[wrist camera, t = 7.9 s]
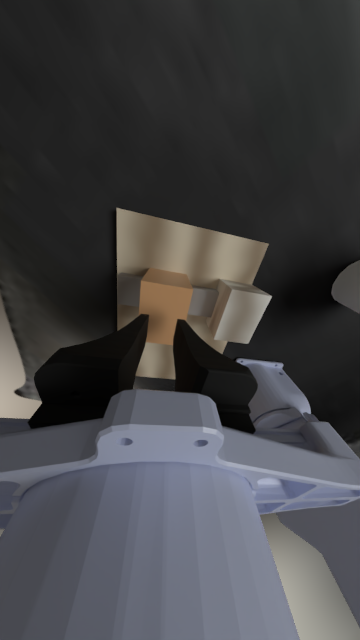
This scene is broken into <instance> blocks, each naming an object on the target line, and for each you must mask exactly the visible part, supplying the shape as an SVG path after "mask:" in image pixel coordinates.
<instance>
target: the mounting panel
mask: <svg viewBox="0 0 360 640" xmlns="http://www.w3.org/2000/svg"><path fill="white" fill-rule="evenodd" d="M268 245H269V244H267V243H263V242H259V241H254V240H250V239H246V238H242V237H237V236H233V235H229V234H225V233H220V232H216V231H212V230H208V229H204V228H199V227H195V226H191V225H187V224H182V223H178V222H174V221H170V220H165V219H161V218H157V217H153V216H149V215H144V214H140V213H136V212H132V211H127V210H123V209H119V208H117V323H118V330H120V329H121V328H123V327H124V326H126V325H127V324H129V323H130V322H131V321H133V320H134V319H135V318H137V317H138V316H139V304H140V287H141V280H142V278H143V277H144V275H145V274H146V273H147V271H148V270H149V268H154V269H160V270H165V271H171V272H176V273H182V274H187V277H188V279H189V281H190V283H191V285H192V288H193V293H192V297H191V302H190V306H189V310H188V315H187V319H186V322H187V323H188V324H189V326H190V327H191V328H192V329H193V330H194V331H195V333H196V334H197V335H198V336H199V337H200V338H201V339H202V340H203V341H205V342H206V343H207V344H208V345H209V346H211V347H212V348H213V349H215V350H216V351H218V352H219V353H221V354H222V353H223V351H224V348H225V346H226V344H227V341H230V342H238V343H246V344H248V343H249V341H250V339H251V337H252V335H253V333H254V331H255V329H256V327H257V325H258V323H259V321H260V319H261V317H262V315H263V313H264V311H265V309H266V307H267V305H268V304H269V302H270V300H271V298H272V296H271V295H269V294H267V293H265V292H264V291H262V290H260V289H258V288H257V287H255V286H253V285H252V282H253V280H254V278H255V275H256V273H257V271H258V268H259V266H260V263H261V261H262V259H263V256H264V254H265V252H266V249H267V247H268ZM136 376H142V377H154V378H166V379H175V366H174V356H173V345H166V344H157V343H148V342H146V343H145V348H144V351H143V354H142V356H141V359H140V362H139V365H138V368H137V372H136Z"/></svg>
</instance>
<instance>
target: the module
mask: <svg viewBox="0 0 360 640" xmlns="http://www.w3.org/2000/svg"><path fill="white" fill-rule="evenodd" d="M192 293H193V288H192V285H191V283H190V281H189V279H188V277H187V274H182V273H176V272H171V271H165V270H160V269H154V268H149V270H148V271H147V273H146V274H145V275H144V277H143V278H142V280H141V287H140V304H139V315H140V314H148V315H149V322H148V331H147V338H146V342H148V343H157V344H166V345H173V338H174V333H175V328H176V323H177V319H183V320H185V321H186V319H187V315H188V310H189V306H190V302H191V297H192Z"/></svg>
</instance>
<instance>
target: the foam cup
mask: <svg viewBox="0 0 360 640" xmlns="http://www.w3.org/2000/svg"><path fill="white" fill-rule="evenodd" d="M331 294H332V296H333V298H334V300H336V301H338V302H339V303H341V304H343V305H344V306H346V307H348V308H350V309H352V310H354V311H355V312H357V313H359V314H360V260H359V261H357V262H355V263H353V264H351V265H349V266H348V267H347V268H346V269H344V270H343V271H342V272H341V273H340V274H339V275H338V277H337V279H336V280H335V282H334V283H333V286H332V292H331Z"/></svg>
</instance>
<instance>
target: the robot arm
mask: <svg viewBox="0 0 360 640" xmlns="http://www.w3.org/2000/svg"><path fill="white" fill-rule="evenodd" d="M148 322H149V315H148V314H140V315H139V316H138V317H137V318H135V319H134V320H133V321H131V322H130V323H129V324H127V325H126V326H124V327H123V328H121V329H120V330H118V331H116V332H114V333H112V334H109V335H107V336H104V337H102V338H99V339H97V340H93V341H90V342H87V343H83V344H79V345H74V346H69V347H65V348H60V349H59V350H58V351H57V352H56V353H54V354H53V355H52V356H51V357H50V358H49V359H48V360H47V361H46V362H45V363H44V364H43V365H42V367H41V368H40V369H39V370H38V371H37V372H36V373H35V376H34V381H35V385H36V388H37V390H38V393H39V395H40V398H41V400H42V404H41V406H40V407H39V408H38V409H37V411H36V412H35V413H34V415H33V416H32V417H31V418H30V419H13V418H0V529H5V530H4V531H3V534H2V535H1V537H0V640H300V639H299V636H298V633H297V630H296V626H295V623H294V620H293V617H292V614H291V611H290V608H289V605H288V602H287V599H286V595H285V593H284V589H283V586H282V583H281V580H280V577H279V574H278V571H277V568H276V565H275V561H274V558H273V555H272V552H271V549H270V546H269V543H268V540H267V537H266V534H265V530H264V528H263V524H262V522H261V518H260V514H267V513H276V515H277V516H278V518H279V520H280V522H281V523H282V524H283V525H285V526H286V527H288V528H289V529H290V530H291V531H293V532H294V533H295V534H297V535H298V536H300V537H301V538H302V539H304V540H305V541H306V542H308V543H309V544H310V545H312V546H313V547H315V548H316V549H317V550H318V551H319V552H320V553H321V554H322V555H323V557H324V559H325V561H326V563H327V565H328V567H329V569H330V571H331V572H332V575H333V576H334V578H335V580H336V582H337V584H338V586H339V588H340V590H341V592H342V594H343V596H344V598H345V600H346V602H347V604H348V606H349V607H350V610H351V611H352V614H353V616H354V617H355V619H356V621H357V623H358V625H359V627H360V459H359V458H358V457H357V456H356V455H355V453H354V452H353V451H352V450H351V449H350V447H349V446H348V445H347V444H346V443H345V442H344V440H343V439H342V438H341V437H340V436H339V435H338V433H337V432H336V431H335V430H334V429H333V428H332V426H331V425H330V424H329V423H328V422H319V421H318V419H317V418H316V417H315V416H314V415H312V414H311V410H310V406H309V403H308V401H307V399H306V397H305V396H304V394H303V393H302V392H301V391H300V390H299V388H298V387H297V386H296V385H295V384H294V383H293V381H292V380H291V379H290V378H289V377H288V376H287V374H286V373H285V372H284V371H283V370H282V367H283V364H282V363H279V362H270V361H261V360H252V359H243V358H238V359H236V361H233V360H232V359H230V358H228V357H226V356H224V355H223V354H221V353H219V352H218V351H216V350H215V349H213V348H212V347H211V346H209V345H208V344H207V343H206V342H205V341H203V340H202V339H201V338H200V337H199V336H198V335H197V334H196V333H195V331H194V330H193V329H192V328H191V327H190V326H189V324H188V323H187V322H186V321H185V320H183V319H177V323H176V328H175V333H174V338H173V356H174V366H175V392H173V391H159V390H145V389H133V385H134V380H135V376H136V372H137V368H138V365H139V362H140V359H141V356H142V354H143V351H144V348H145V343H146V338H147V331H148Z"/></svg>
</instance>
